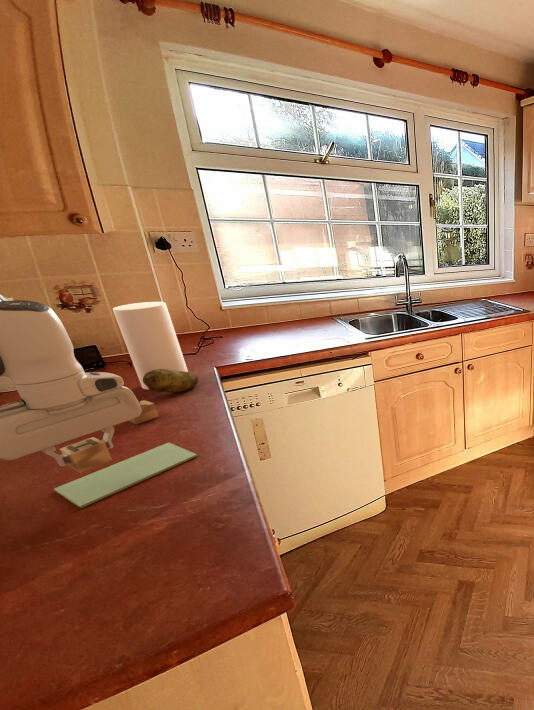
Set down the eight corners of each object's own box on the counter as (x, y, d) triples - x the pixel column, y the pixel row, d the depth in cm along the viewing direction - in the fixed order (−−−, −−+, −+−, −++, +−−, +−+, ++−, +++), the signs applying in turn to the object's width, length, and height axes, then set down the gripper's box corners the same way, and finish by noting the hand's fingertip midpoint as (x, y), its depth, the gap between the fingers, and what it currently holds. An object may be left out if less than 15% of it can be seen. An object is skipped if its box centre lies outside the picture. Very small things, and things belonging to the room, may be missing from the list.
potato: (202, 390, 130) (194, 365, 127) (149, 401, 122) (139, 376, 119) (199, 382, 136) (192, 359, 133) (148, 393, 128) (139, 368, 125)
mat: (80, 508, 78) (79, 506, 77) (54, 490, 83) (53, 488, 83) (197, 456, 94) (197, 454, 94) (169, 444, 99) (168, 442, 99)
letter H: (79, 473, 79) (70, 454, 78) (68, 466, 81) (59, 448, 80) (112, 459, 83) (104, 441, 82) (101, 454, 85) (93, 436, 84)
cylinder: (189, 372, 145) (165, 299, 136) (190, 383, 136) (164, 305, 126) (143, 381, 138) (114, 305, 129) (140, 392, 129) (109, 311, 119)
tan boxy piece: (136, 424, 109) (130, 410, 107) (127, 420, 111) (121, 406, 110) (158, 416, 113) (153, 402, 111) (149, 413, 115) (144, 399, 114)
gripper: (-24, 417, 67) (17, 489, 72) (131, 374, 83) (155, 436, 89) (-36, 409, 69) (4, 480, 75) (116, 370, 86) (141, 430, 91)
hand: (87, 456), depth 82 cm, fingers closed on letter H, 5 cm apart
